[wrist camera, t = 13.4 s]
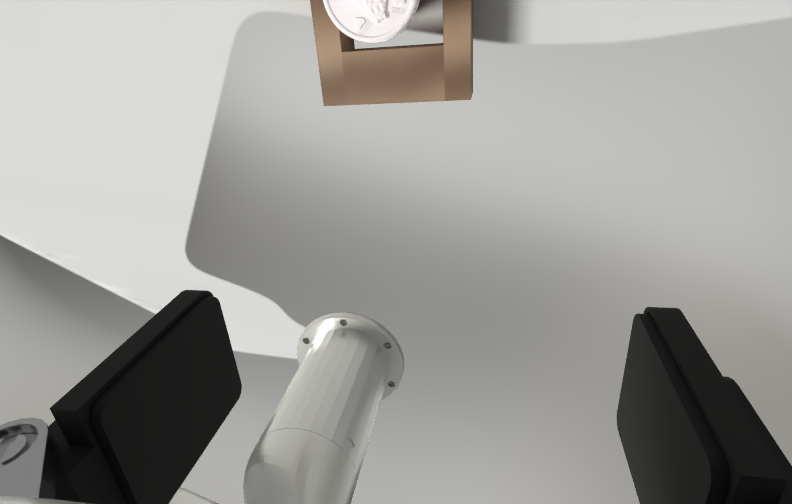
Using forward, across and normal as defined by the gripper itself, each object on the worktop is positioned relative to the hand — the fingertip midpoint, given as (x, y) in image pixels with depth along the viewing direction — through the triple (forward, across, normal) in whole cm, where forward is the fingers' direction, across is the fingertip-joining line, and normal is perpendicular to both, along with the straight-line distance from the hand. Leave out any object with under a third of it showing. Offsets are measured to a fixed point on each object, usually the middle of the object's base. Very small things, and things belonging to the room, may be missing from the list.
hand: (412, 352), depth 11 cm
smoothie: (+34, +6, -9) cm, 36 cm away
